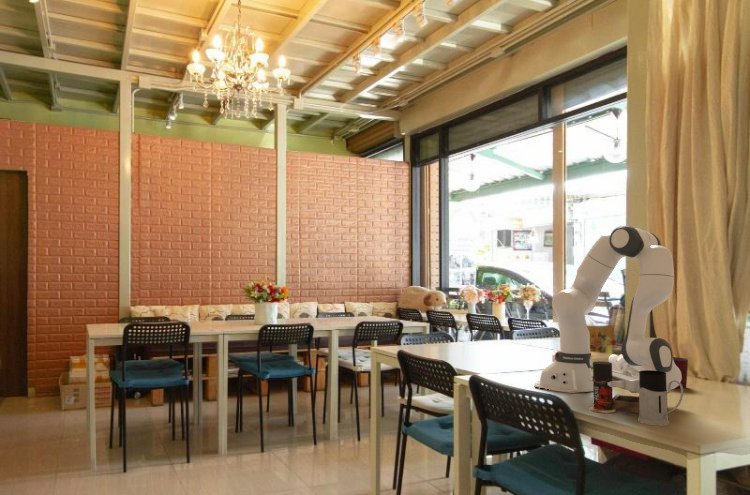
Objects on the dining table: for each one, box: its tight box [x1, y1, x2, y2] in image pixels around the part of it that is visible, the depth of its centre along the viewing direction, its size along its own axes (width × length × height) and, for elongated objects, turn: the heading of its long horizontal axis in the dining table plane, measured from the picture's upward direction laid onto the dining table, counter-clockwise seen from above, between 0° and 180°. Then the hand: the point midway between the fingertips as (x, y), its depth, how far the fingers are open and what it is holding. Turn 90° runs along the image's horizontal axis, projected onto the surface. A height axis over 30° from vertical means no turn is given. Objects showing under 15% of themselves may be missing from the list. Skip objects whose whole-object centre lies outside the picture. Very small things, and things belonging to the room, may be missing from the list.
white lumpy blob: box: [608, 353, 632, 372], centre depth 260 cm, size 11×12×9 cm
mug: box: [673, 356, 689, 390], centre depth 234 cm, size 12×9×11 cm
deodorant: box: [592, 360, 614, 411], centre depth 196 cm, size 6×6×15 cm
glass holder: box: [637, 370, 684, 426], centre depth 180 cm, size 9×14×15 cm, turn 28°
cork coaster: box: [589, 405, 616, 414], centre depth 196 cm, size 8×8×1 cm
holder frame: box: [613, 393, 639, 414], centre depth 199 cm, size 11×11×3 cm
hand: (599, 381), depth 196 cm, fingers open, 8 cm apart
